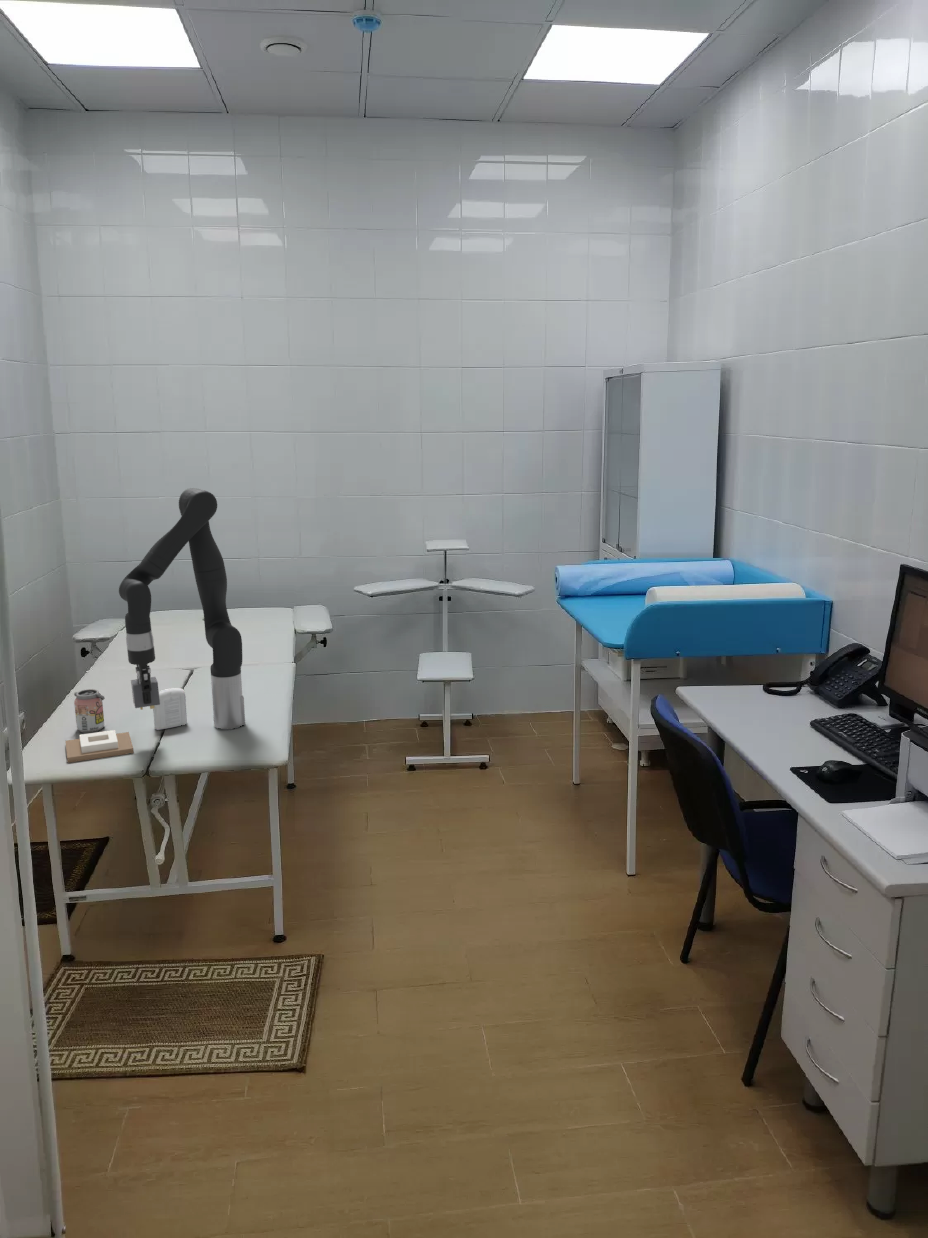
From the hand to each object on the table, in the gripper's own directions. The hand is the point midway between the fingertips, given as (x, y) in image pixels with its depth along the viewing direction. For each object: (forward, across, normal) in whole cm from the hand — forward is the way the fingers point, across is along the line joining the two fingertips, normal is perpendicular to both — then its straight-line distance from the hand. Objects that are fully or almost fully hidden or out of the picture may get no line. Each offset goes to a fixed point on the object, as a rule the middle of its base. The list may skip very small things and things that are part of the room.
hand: (146, 700), depth 282 cm
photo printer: (+14, +12, -8) cm, 20 cm away
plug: (+3, 0, 0) cm, 3 cm away
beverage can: (+14, +20, +16) cm, 29 cm away
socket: (+13, +1, +14) cm, 20 cm away
